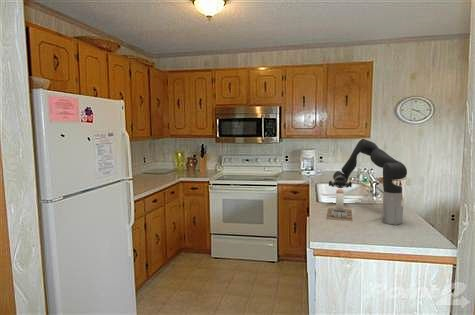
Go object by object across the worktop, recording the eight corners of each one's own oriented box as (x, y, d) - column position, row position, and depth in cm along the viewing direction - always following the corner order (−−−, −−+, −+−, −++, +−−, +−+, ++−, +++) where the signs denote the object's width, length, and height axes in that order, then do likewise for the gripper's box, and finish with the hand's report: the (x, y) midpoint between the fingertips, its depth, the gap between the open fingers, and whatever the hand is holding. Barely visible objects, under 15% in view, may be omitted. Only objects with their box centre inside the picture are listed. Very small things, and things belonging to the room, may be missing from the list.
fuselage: (344, 212, 195) (345, 189, 193) (339, 213, 192) (340, 190, 191) (339, 211, 198) (339, 188, 197) (334, 212, 196) (334, 189, 195)
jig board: (328, 210, 206) (328, 208, 206) (351, 211, 201) (351, 209, 201) (326, 221, 181) (326, 219, 181) (352, 223, 177) (352, 221, 177)
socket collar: (332, 213, 192) (332, 208, 192) (346, 214, 190) (347, 209, 189) (331, 217, 184) (331, 212, 184) (347, 218, 182) (347, 213, 181)
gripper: (329, 175, 222) (328, 179, 207) (351, 176, 218) (352, 180, 202) (329, 186, 223) (328, 191, 208) (351, 187, 218) (351, 192, 203)
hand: (340, 185), depth 205 cm, fingers open, 8 cm apart
